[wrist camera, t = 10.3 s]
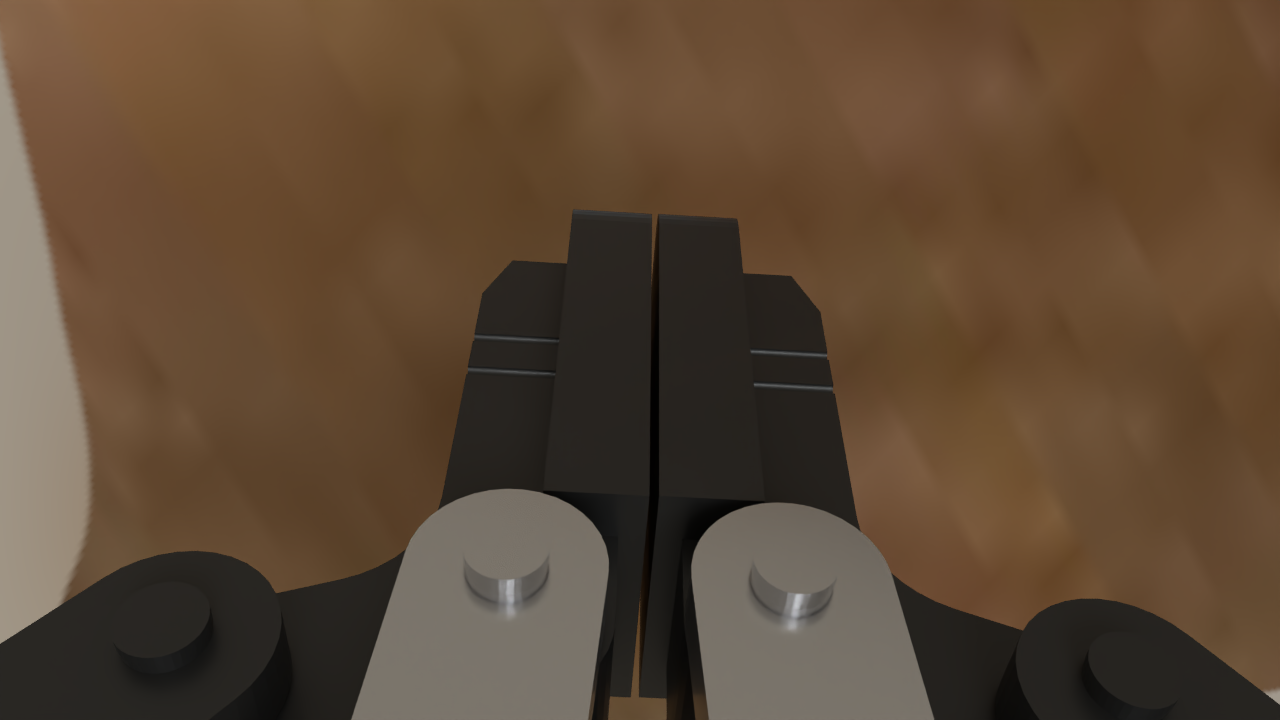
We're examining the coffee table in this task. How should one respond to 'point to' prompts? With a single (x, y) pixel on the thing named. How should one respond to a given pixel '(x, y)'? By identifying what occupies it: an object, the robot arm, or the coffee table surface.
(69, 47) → the coffee table surface
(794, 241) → the coffee table surface
